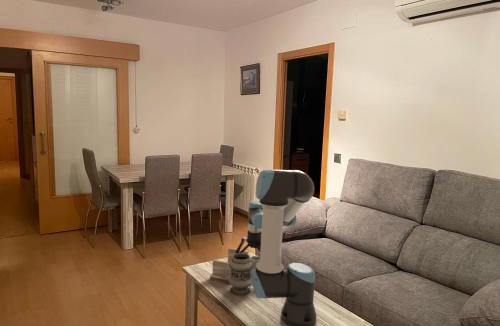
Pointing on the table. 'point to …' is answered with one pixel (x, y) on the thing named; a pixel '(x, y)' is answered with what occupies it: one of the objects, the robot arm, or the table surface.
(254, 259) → the mug
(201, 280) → the table surface
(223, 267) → the shelf
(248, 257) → the apothecary jar
